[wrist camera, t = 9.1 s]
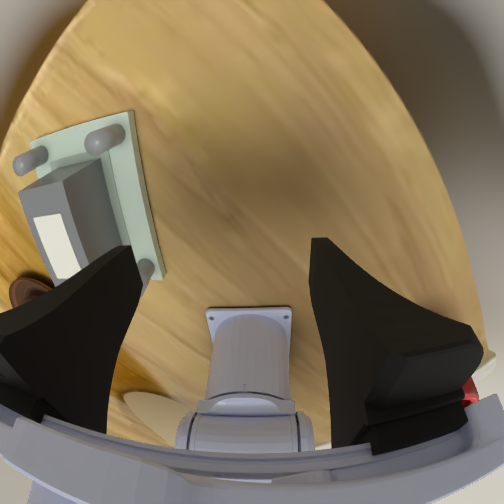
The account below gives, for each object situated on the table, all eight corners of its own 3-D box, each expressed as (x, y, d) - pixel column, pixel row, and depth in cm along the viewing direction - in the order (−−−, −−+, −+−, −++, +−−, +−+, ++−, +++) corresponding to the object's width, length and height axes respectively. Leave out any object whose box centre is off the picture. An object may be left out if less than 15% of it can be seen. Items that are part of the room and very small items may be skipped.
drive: (124, 251, 22) (98, 290, 18) (83, 253, 22) (55, 288, 18) (100, 157, 18) (61, 181, 13) (57, 168, 18) (17, 192, 14)
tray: (165, 273, 24) (153, 303, 21) (78, 273, 25) (59, 299, 22) (133, 110, 17) (106, 117, 14) (36, 138, 18) (6, 152, 14)
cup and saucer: (20, 251, 24) (-11, 284, 19) (99, 310, 28) (78, 351, 23) (15, 306, 29) (-6, 336, 24) (79, 352, 33) (64, 386, 28)
